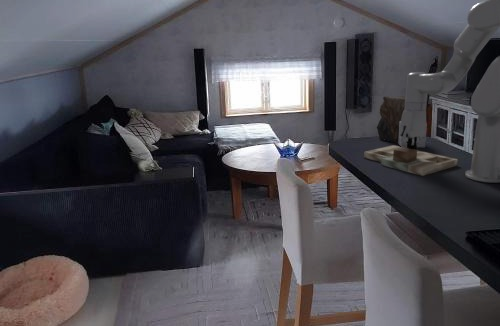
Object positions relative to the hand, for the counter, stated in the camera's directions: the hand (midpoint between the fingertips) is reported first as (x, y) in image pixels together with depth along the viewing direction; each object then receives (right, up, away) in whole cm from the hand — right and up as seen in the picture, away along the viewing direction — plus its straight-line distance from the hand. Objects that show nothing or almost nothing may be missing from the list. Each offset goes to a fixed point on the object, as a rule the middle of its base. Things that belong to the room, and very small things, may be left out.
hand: (411, 154), depth 167 cm
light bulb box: (+11, +4, +29) cm, 31 cm away
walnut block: (-4, -2, -3) cm, 5 cm away
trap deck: (-1, -3, +3) cm, 4 cm away
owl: (+7, +8, +42) cm, 43 cm away
